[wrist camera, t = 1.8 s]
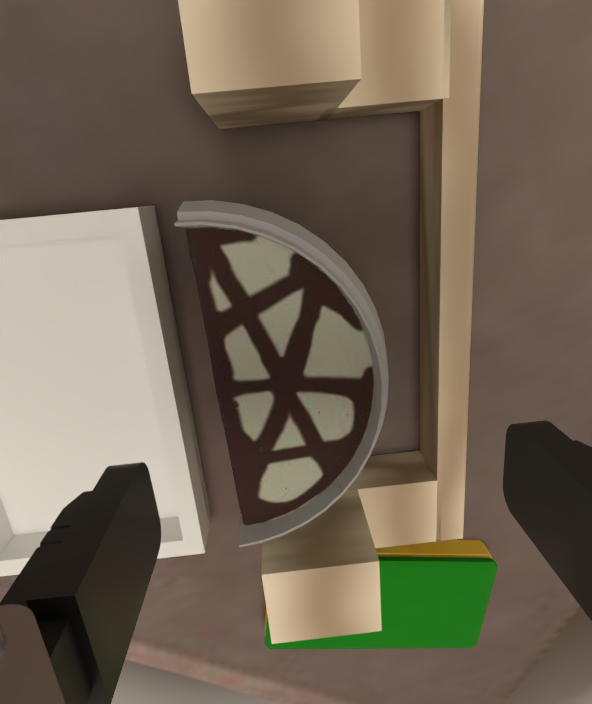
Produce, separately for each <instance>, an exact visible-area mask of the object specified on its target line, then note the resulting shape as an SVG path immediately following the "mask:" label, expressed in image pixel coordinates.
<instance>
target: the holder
mask: <svg viewBox="0 0 592 704" xmlns="http://www.w3.org/2000/svg"><path fill="white" fill-rule="evenodd" d="M178 4H179V11H180V18H181V24H182V31H183V38H184V45H185V52H186V59H187V66H188V73H189V79H190V86H191V93H192V95H193V96H194V98H195V99H196V100H197V102H198V103H199V104H200V105H201V107H202V108H203V109H204V111H205V112H206V113H207V114H208V116H209V117H210V118H211V120H212V121H213V122H214V123H215V125H216V126H217V127H218V129H227V128H238V127H249V126H260V125H271V124H282V123H293V122H304V121H315V120H326V119H337V118H348V117H359V116H370V115H381V114H392V113H403V112H414V111H420V451H411V452H402V453H392V454H383V455H374V456H370V457H369V458H368V460H367V462H366V464H365V465H364V467H363V469H362V471H361V472H360V474H359V476H358V477H357V478H356V479H355V481H354V482H353V483H352V484H351V486H350V487H349V488H348V489H347V491H346V492H345V493H344V494H343V495H342V496H341V497H340V498H339V499H338V500H337V501H336V502H335V503H334V504H333V505H331V506H330V507H329V508H328V509H327V510H326V511H324V512H323V513H322V514H320V515H319V516H317V517H316V518H314V519H313V520H311V521H310V522H309V523H307V524H305V525H303V526H301V527H299V528H297V529H295V530H293V531H291V532H289V533H287V534H285V535H283V536H280V537H277V538H274V539H271V540H268V541H265V542H262V581H263V588H264V594H265V601H266V608H267V615H268V622H269V629H270V636H271V642H272V644H276V643H285V642H293V641H301V640H310V639H318V638H327V637H335V636H343V635H352V634H360V633H369V632H377V631H382V625H381V597H380V570H379V559H378V556H377V552H376V549H375V548H383V547H391V546H400V545H409V544H418V543H426V542H435V541H444V540H452V539H461V538H463V521H464V496H465V470H466V444H467V418H468V393H469V367H470V341H471V315H472V290H473V264H474V238H475V212H476V187H477V161H478V135H479V109H480V84H481V58H482V32H483V6H484V0H178Z"/></svg>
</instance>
